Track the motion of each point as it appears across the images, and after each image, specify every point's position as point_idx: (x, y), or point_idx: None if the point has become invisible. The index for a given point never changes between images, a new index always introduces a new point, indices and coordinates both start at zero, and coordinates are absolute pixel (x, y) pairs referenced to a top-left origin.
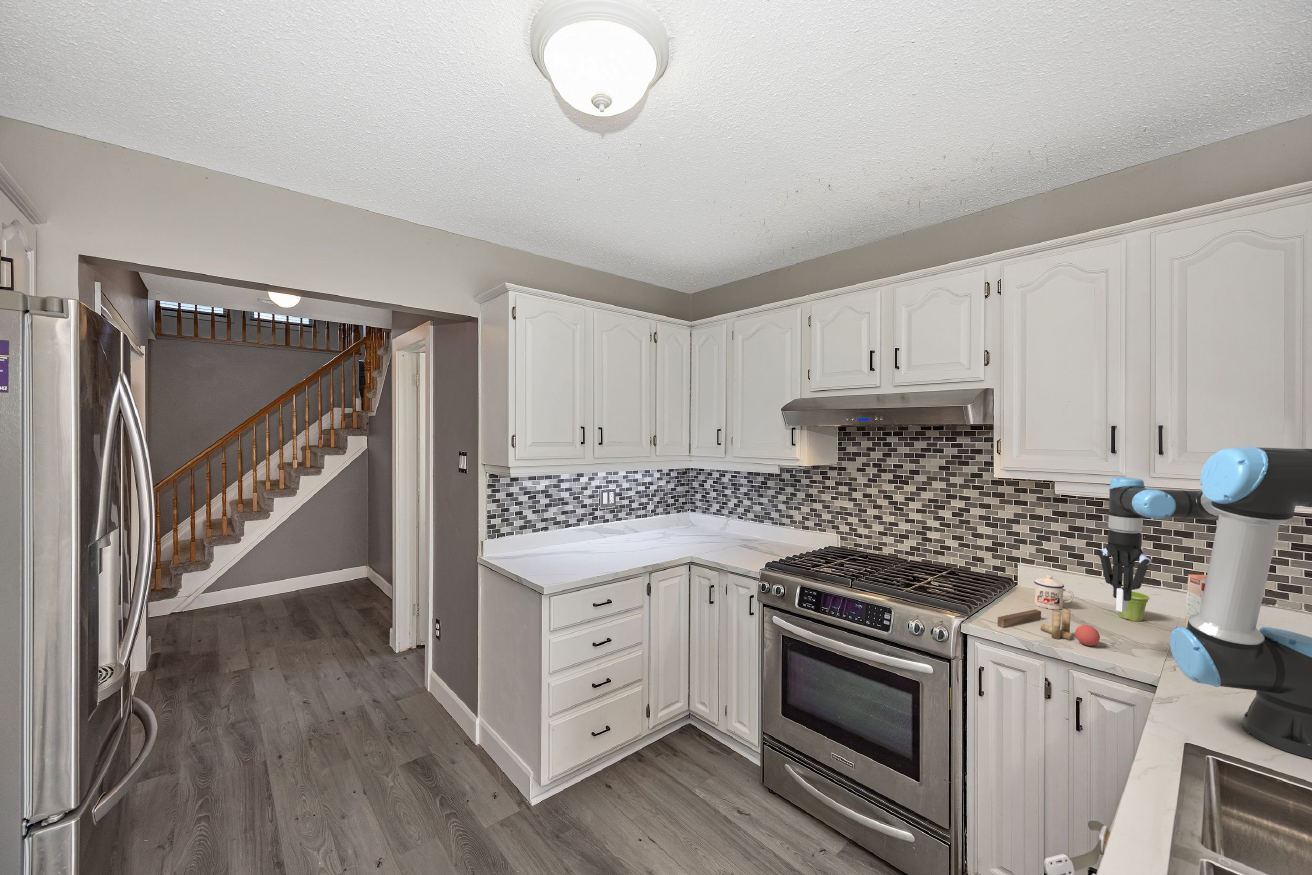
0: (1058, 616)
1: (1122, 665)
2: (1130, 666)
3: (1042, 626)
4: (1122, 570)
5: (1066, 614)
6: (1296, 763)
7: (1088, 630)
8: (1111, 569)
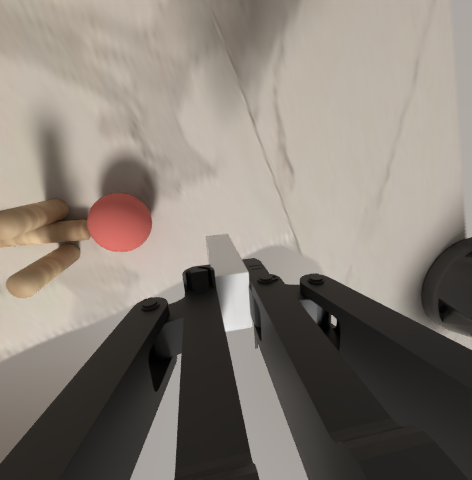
0: (43, 284)
1: None
2: (247, 246)
3: (3, 245)
4: (234, 378)
5: (23, 232)
6: (469, 337)
7: (130, 243)
8: (119, 397)
